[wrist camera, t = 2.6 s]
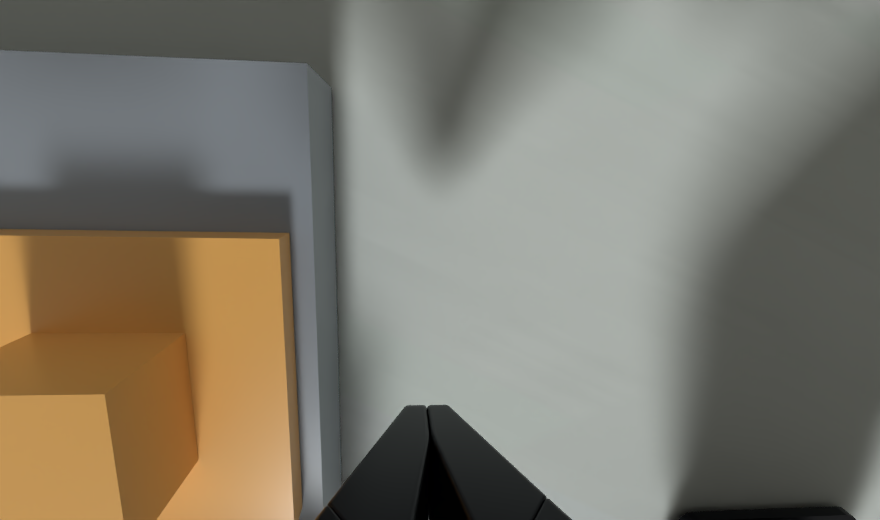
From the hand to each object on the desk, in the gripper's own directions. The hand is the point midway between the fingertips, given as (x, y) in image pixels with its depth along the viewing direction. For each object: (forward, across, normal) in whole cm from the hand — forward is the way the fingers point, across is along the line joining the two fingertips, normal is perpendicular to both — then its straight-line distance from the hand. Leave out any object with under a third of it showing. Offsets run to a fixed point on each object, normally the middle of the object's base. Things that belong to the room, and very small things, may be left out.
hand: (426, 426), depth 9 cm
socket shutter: (+2, +7, 0) cm, 7 cm away
